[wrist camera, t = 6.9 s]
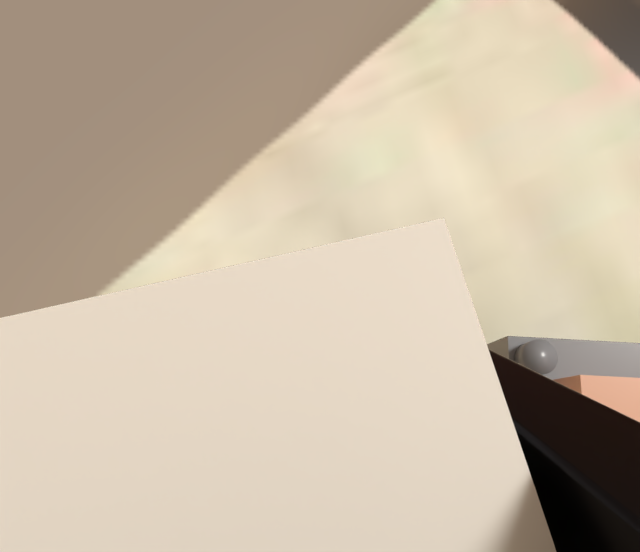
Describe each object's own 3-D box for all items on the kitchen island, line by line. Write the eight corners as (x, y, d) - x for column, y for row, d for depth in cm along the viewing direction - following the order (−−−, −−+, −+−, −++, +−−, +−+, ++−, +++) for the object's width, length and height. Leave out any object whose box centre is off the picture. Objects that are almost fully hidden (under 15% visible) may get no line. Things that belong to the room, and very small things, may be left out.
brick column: (398, 539, 14) (625, 754, 5) (201, 599, 13) (12, 985, 4) (346, 346, 15) (444, 217, 6) (163, 392, 14) (-47, 328, 5)
